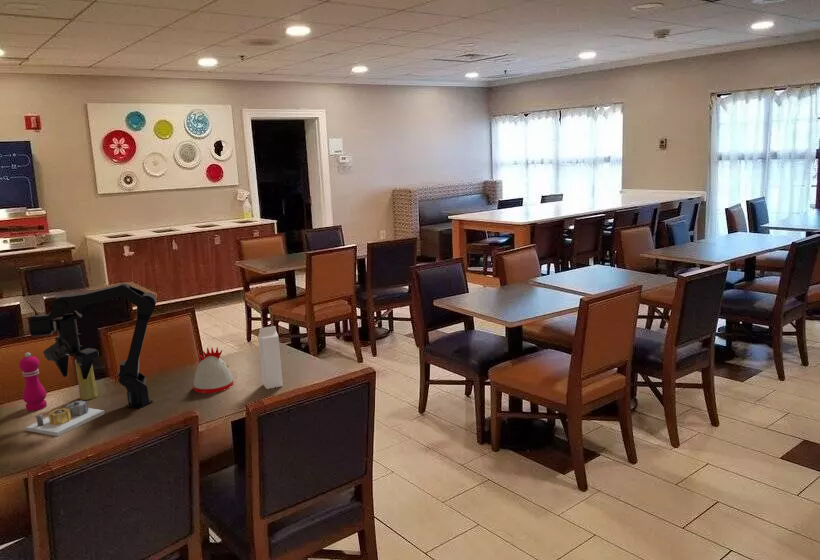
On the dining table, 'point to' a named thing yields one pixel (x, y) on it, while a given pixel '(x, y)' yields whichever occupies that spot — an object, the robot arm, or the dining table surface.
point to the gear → (59, 416)
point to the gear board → (78, 417)
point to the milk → (270, 357)
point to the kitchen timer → (212, 373)
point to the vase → (86, 384)
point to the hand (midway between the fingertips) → (75, 377)
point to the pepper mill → (32, 384)
